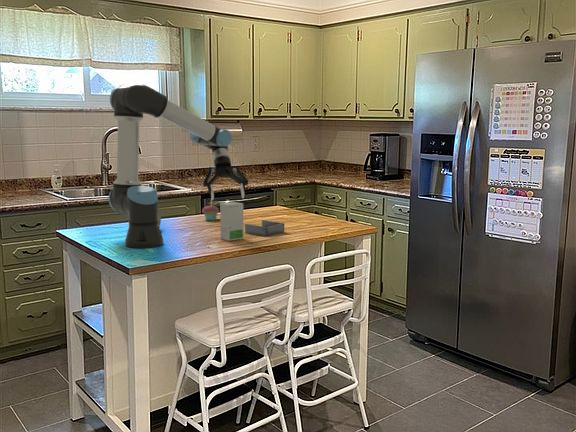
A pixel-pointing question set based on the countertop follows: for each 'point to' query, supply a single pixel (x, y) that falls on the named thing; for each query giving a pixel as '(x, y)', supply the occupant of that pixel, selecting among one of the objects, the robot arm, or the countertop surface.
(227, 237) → the skincare box
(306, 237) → the countertop surface
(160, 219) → the garlic bulb
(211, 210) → the cupcake
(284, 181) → the countertop surface
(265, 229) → the tray
